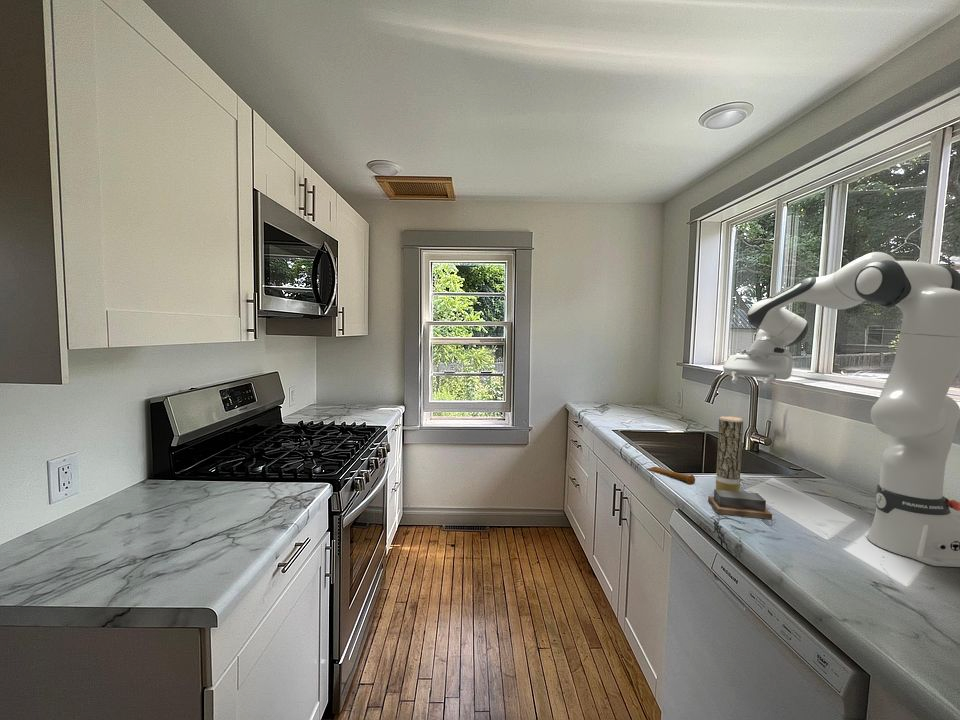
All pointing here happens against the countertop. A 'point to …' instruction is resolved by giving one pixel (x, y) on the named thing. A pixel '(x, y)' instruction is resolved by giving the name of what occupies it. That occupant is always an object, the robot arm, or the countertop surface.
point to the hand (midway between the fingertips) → (748, 384)
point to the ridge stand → (739, 504)
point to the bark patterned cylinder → (729, 453)
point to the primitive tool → (674, 475)
